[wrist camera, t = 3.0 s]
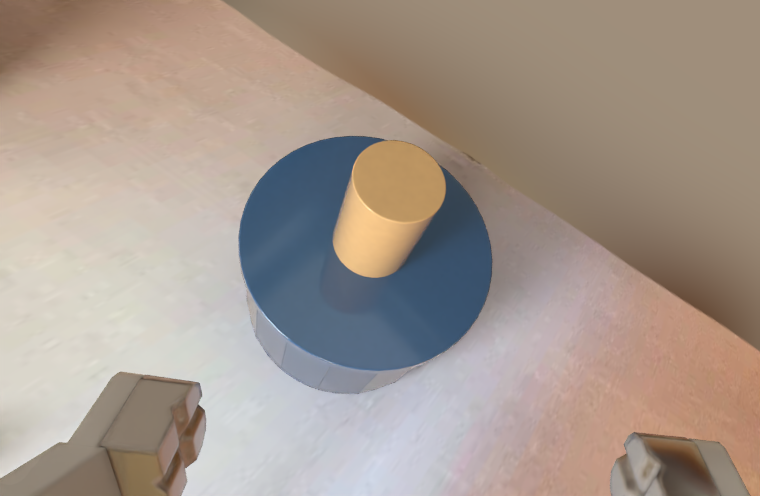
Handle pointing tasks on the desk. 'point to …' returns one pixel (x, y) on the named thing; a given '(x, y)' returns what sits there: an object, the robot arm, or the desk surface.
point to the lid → (365, 254)
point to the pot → (314, 363)
